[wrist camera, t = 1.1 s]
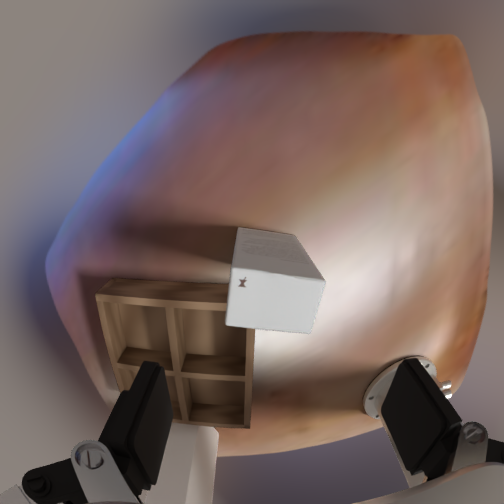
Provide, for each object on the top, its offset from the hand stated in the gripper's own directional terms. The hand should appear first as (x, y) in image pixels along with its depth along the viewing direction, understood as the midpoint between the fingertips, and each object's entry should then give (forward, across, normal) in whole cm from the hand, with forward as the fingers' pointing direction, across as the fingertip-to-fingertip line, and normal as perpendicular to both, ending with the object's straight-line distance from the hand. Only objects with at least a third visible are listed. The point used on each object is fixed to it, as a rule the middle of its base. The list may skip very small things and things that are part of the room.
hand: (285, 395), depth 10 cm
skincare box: (+20, 0, 0) cm, 20 cm away
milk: (+20, +9, +28) cm, 36 cm away
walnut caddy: (+20, +9, +13) cm, 25 cm away
